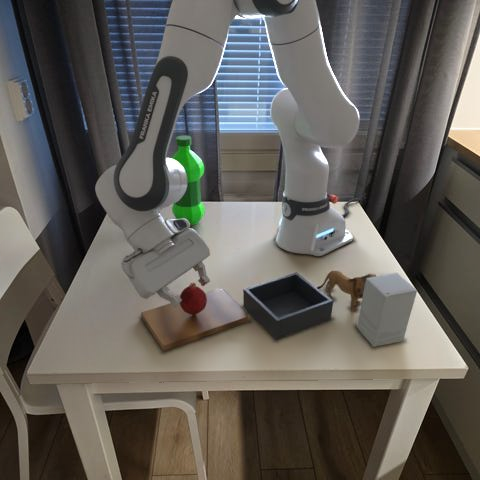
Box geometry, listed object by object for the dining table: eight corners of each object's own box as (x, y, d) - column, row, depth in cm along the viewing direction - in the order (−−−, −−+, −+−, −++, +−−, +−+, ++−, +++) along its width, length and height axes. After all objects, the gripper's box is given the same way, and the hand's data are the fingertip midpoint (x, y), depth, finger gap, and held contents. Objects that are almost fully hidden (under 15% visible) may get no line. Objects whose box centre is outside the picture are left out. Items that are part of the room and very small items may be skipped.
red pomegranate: (196, 325, 95) (193, 294, 90) (175, 316, 98) (172, 285, 93) (212, 312, 99) (211, 281, 94) (192, 303, 102) (189, 273, 97)
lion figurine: (377, 305, 104) (385, 272, 98) (368, 317, 100) (376, 283, 95) (320, 285, 110) (325, 253, 105) (310, 295, 107) (314, 262, 102)
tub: (294, 289, 109) (296, 271, 106) (330, 319, 100) (333, 300, 97) (243, 307, 103) (243, 288, 100) (275, 340, 94) (277, 321, 91)
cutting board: (220, 292, 108) (220, 287, 107) (248, 321, 99) (248, 316, 98) (141, 317, 100) (140, 312, 99) (163, 351, 91) (163, 345, 90)
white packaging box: (404, 341, 94) (419, 290, 86) (372, 347, 92) (384, 297, 84) (385, 320, 99) (397, 271, 92) (355, 326, 98) (365, 277, 90)
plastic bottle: (166, 220, 140) (157, 136, 124) (195, 212, 145) (190, 130, 129) (183, 232, 133) (176, 145, 118) (212, 222, 138) (209, 138, 123)
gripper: (123, 254, 84) (167, 313, 86) (191, 215, 98) (228, 267, 100) (110, 267, 89) (153, 323, 91) (177, 229, 103) (213, 278, 104)
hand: (193, 293), depth 95 cm, fingers open, 8 cm apart
